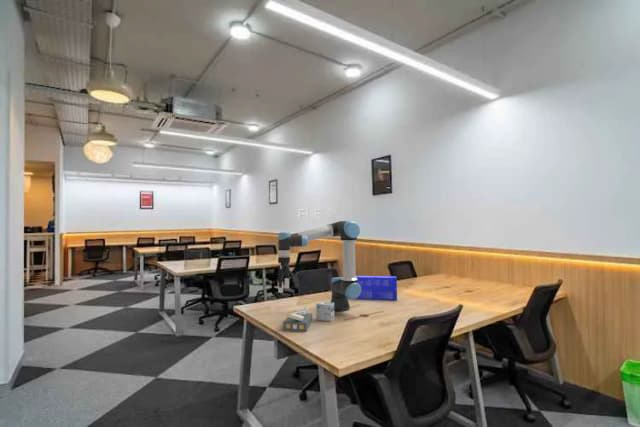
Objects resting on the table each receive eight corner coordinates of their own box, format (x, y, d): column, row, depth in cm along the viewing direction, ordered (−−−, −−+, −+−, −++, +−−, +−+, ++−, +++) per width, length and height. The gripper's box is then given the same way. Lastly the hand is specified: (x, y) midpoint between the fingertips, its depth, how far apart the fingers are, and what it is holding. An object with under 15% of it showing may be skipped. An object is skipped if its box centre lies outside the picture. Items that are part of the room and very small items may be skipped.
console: (312, 321, 212) (312, 311, 212) (306, 331, 192) (306, 321, 192) (291, 320, 214) (291, 311, 214) (283, 330, 194) (283, 320, 194)
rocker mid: (306, 312, 204) (305, 309, 204) (304, 314, 200) (304, 311, 201) (292, 315, 206) (291, 312, 206) (290, 317, 202) (290, 314, 202)
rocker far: (307, 309, 211) (307, 306, 211) (306, 311, 207) (306, 308, 207) (294, 312, 212) (294, 309, 212) (293, 314, 208) (292, 311, 208)
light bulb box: (334, 318, 218) (334, 302, 218) (331, 321, 211) (331, 304, 211) (319, 317, 221) (319, 301, 221) (316, 320, 215) (316, 303, 215)
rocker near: (303, 319, 198) (304, 316, 198) (302, 321, 194) (302, 318, 194) (289, 315, 199) (290, 312, 199) (287, 317, 195) (288, 313, 195)
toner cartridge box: (396, 298, 273) (396, 276, 274) (397, 300, 265) (396, 277, 266) (350, 296, 280) (350, 275, 281) (349, 299, 272) (349, 276, 273)
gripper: (284, 254, 220) (283, 286, 220) (272, 258, 196) (271, 294, 195) (294, 254, 219) (294, 286, 218) (284, 258, 194) (283, 294, 194)
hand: (283, 290), depth 207 cm, fingers open, 13 cm apart
